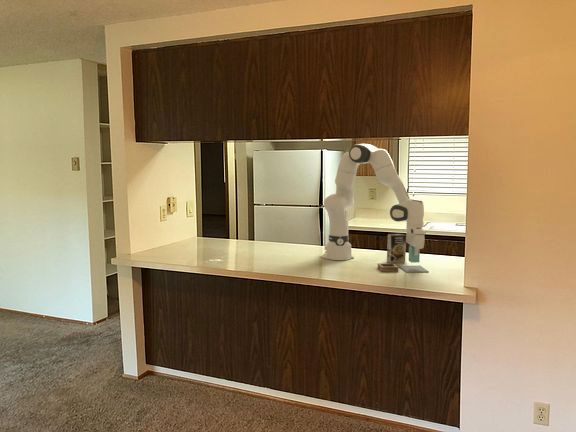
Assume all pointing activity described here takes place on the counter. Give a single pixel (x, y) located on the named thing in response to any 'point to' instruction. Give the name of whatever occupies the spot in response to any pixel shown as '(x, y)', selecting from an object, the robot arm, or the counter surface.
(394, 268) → the walnut collar
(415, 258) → the teal block
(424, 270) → the slate mat
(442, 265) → the counter surface
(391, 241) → the coffee box
